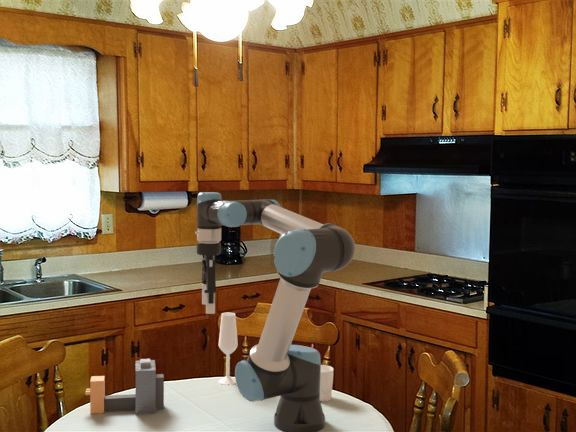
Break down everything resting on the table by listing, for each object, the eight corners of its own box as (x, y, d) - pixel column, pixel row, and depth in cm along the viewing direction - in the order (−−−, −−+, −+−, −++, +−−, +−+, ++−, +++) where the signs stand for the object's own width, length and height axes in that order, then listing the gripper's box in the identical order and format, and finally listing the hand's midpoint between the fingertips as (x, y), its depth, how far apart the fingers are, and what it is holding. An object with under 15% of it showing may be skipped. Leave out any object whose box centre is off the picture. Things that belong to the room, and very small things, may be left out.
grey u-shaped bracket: (154, 401, 232) (154, 355, 231) (155, 413, 221) (155, 365, 220) (135, 402, 231) (135, 356, 229) (135, 414, 220) (135, 366, 219)
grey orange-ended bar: (163, 404, 229) (163, 373, 229) (163, 409, 225) (163, 378, 224) (86, 408, 225) (86, 376, 224) (85, 413, 220) (85, 381, 219)
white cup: (331, 403, 233) (331, 372, 232) (306, 401, 235) (307, 371, 234) (334, 395, 241) (335, 365, 240) (311, 393, 242) (311, 364, 242)
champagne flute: (217, 384, 250) (218, 316, 248) (218, 378, 256) (219, 311, 254) (236, 384, 250) (237, 316, 248) (237, 378, 256) (238, 311, 254)
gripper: (193, 237, 237) (193, 300, 239) (200, 247, 213) (199, 318, 215) (216, 237, 239) (215, 300, 241) (225, 246, 214) (224, 317, 216)
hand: (208, 308), depth 228 cm, fingers open, 13 cm apart
